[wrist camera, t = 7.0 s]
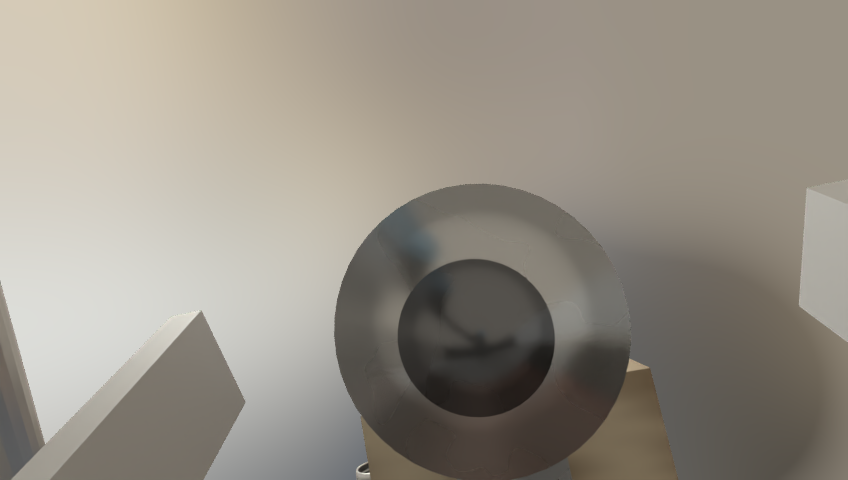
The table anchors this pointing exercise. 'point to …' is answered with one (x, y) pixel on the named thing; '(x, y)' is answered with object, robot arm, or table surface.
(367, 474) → the plastic bottle
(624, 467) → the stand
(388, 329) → the grey round-headed handle
